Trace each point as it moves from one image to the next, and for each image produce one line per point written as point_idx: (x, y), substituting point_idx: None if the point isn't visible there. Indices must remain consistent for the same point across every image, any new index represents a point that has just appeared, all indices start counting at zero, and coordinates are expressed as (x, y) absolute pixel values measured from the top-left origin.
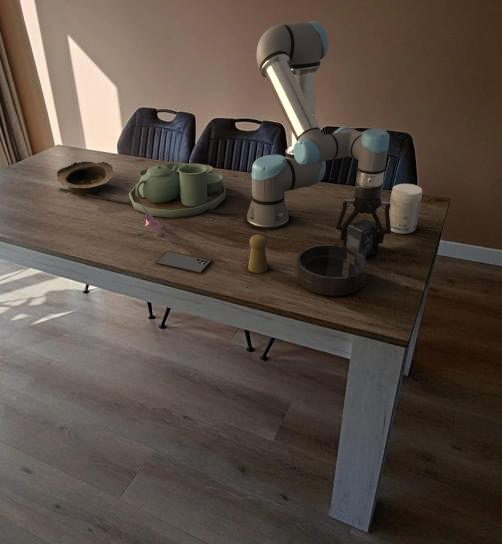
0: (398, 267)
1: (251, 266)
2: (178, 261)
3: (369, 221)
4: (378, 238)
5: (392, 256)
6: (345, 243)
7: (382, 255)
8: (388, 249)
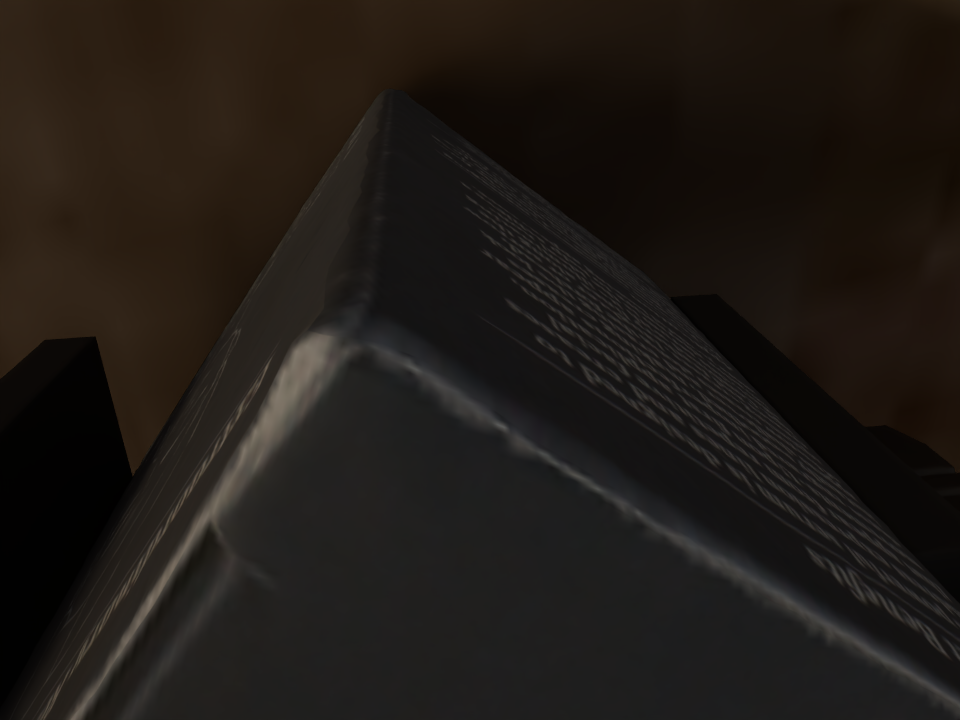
0: None
1: None
2: None
3: (709, 711)
4: None
5: (931, 288)
6: (59, 596)
7: (776, 296)
8: (918, 34)
